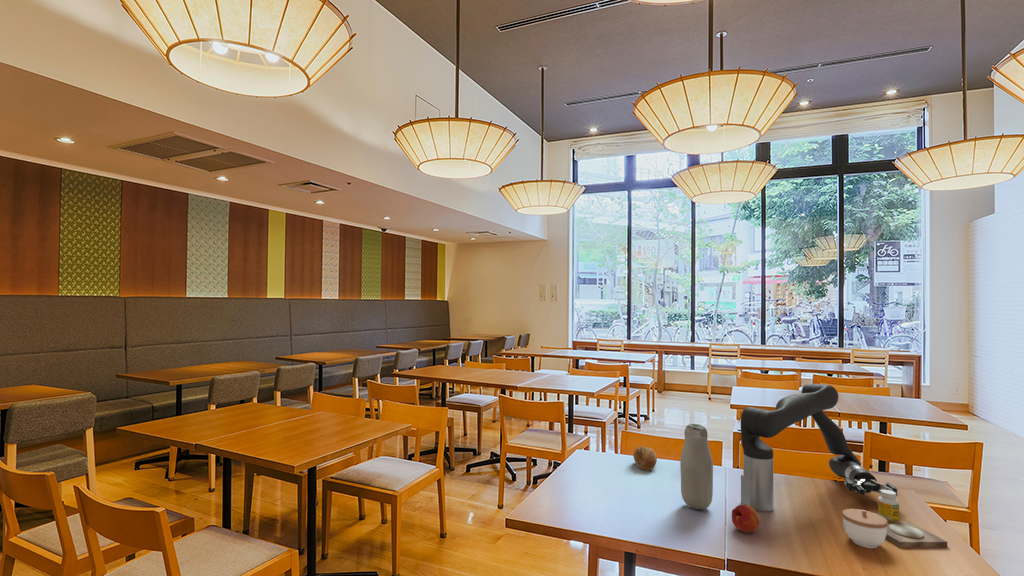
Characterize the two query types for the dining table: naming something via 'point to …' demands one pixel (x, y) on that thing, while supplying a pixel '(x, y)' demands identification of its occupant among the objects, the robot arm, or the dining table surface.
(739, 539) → the dining table surface
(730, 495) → the dining table surface
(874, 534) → the lidded jar
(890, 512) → the supplement bottle
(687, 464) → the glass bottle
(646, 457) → the bread roll
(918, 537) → the serving board
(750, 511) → the fruit
